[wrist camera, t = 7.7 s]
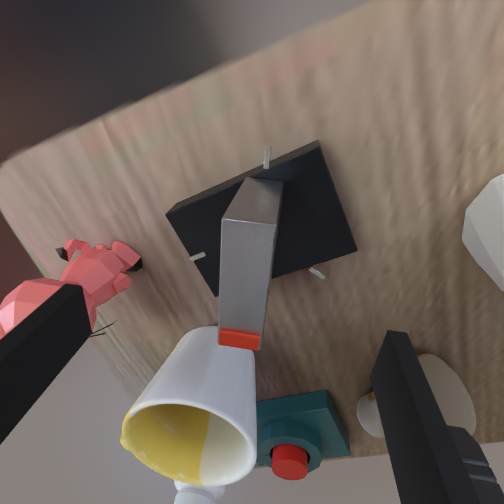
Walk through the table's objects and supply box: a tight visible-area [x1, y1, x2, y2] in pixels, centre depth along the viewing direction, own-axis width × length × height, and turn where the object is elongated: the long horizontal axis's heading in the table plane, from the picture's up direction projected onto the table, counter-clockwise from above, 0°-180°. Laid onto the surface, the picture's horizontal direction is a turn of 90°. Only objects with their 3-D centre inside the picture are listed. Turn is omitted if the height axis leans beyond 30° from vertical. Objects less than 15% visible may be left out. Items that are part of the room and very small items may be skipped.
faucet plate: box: [165, 140, 357, 297], centre depth 24 cm, size 12×11×3 cm
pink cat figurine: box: [0, 239, 143, 339], centre depth 24 cm, size 7×7×12 cm
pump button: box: [272, 444, 307, 480], centre depth 33 cm, size 4×4×2 cm
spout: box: [217, 177, 284, 351], centre depth 20 cm, size 8×3×8 cm, turn 175°
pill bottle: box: [174, 480, 226, 504], centre depth 34 cm, size 5×5×10 cm
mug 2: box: [357, 353, 476, 438], centre depth 29 cm, size 8×10×10 cm
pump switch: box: [256, 390, 351, 473], centre depth 35 cm, size 11×8×4 cm
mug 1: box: [120, 326, 257, 486], centre depth 28 cm, size 14×10×10 cm
